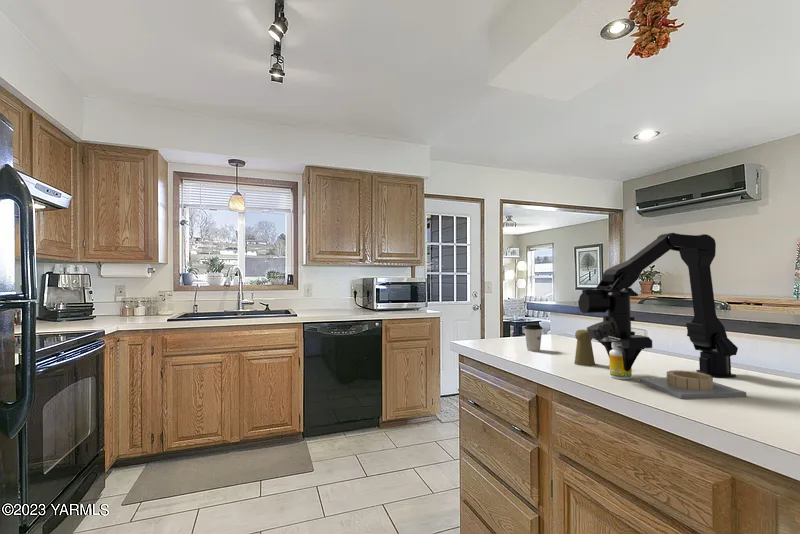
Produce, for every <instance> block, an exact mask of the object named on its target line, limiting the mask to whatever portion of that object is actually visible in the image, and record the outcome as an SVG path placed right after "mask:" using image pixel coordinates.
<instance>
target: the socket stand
mask: <svg viewBox="0 0 800 534" xmlns="http://www.w3.org/2000/svg"><path fill="white" fill-rule="evenodd" d="M713 379H714V377H713V376H710V375H707V374H704V373H699V372H696V371H692V370H691V371H690V370H683V369H681V370H679V369H677V370H669V371H666V377H641V378H639V383H640V384H643V385H646V386H647V387H650V388H654V389H656V390H658V391H662V392H663V393H665V394H668V395H671V396H673V397H676V398H678V399H681V400H682V399H685V400H686V399H709V398H710V399H711V398H713V399H714V398H736V397H737V398H738V397H740V398H741V397H747V392H746V391H744V390H740V389H738V388H735V387H731V386H728V385H725V384H722V383H719V382H715V381H714V380H713Z"/></svg>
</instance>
